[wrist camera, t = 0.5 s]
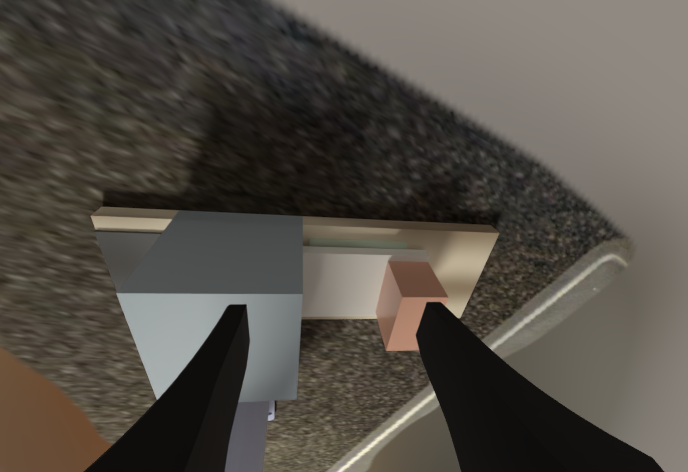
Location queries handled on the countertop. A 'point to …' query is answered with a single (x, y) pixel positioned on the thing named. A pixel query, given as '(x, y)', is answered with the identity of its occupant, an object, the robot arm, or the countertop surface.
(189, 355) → the tunnel
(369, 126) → the countertop surface
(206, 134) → the countertop surface
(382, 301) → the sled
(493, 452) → the robot arm
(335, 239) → the board
